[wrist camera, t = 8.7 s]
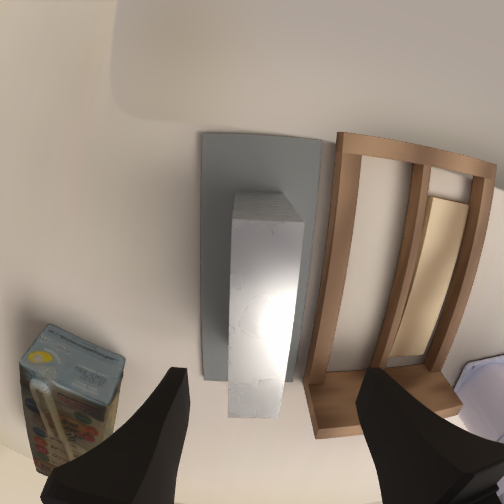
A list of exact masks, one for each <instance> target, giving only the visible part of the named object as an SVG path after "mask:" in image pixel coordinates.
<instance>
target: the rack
mask: <svg viewBox="0 0 504 504" xmlns="http://www.w3.org/2000/svg"><path fill="white" fill-rule="evenodd" d="M362 155H366V156H373V157H380V158H386V159H393V160H399V161H405V162H411V163H413V171H412V180H411V188H410V195H409V202H408V209H407V215H406V221H405V227H404V233H403V239H402V244H401V249H400V254H399V259H398V264H397V269H396V273H395V278H394V282H393V286H392V291H391V295H390V299H389V303H388V307H387V310H386V314H385V318H384V322H383V325H382V329H381V332H380V336H379V339H378V343H377V346H376V349H375V353H374V356H373V359H372V362H371V365H370V368H376V367H380V368H382V369H383V370H384V371H385V372H386V373H387V374H389V375H390V376H391V377H392V378H393V379H394V380H395V381H396V382H397V383H399V384H400V385H401V386H402V387H403V388H404V389H405V390H406V391H408V392H409V393H410V394H411V395H412V396H413V397H415V398H416V399H417V400H418V401H420V402H421V403H422V404H423V405H425V406H426V407H427V408H429V409H430V410H431V411H433V412H434V413H436V414H437V415H439V416H440V417H442V418H447V417H451V416H455V415H458V413H459V412H460V410H461V408H462V406H463V403H462V402H461V400H460V399H459V397H458V396H457V394H456V393H455V391H454V390H453V388H452V387H451V386H450V384H449V383H448V381H447V380H446V378H445V377H444V376H443V374H442V373H441V369H442V367H443V364H444V362H445V360H446V357H447V355H448V353H449V350H450V348H451V345H452V343H453V340H454V338H455V335H456V333H457V330H458V327H459V325H460V322H461V319H462V316H463V313H464V310H465V307H466V304H467V301H468V298H469V295H470V292H471V289H472V285H473V282H474V279H475V275H476V272H477V268H478V264H479V260H480V256H481V252H482V248H483V244H484V240H485V235H486V230H487V226H488V221H489V215H490V210H491V204H492V198H493V191H494V183H495V177H496V168H497V165H496V164H493V163H489V162H485V161H482V160H479V159H475V158H472V157H468V156H464V155H460V154H456V153H452V152H448V151H444V150H439V149H435V148H431V147H426V146H422V145H416V144H412V143H407V142H402V141H396V140H391V139H386V138H380V137H374V136H367V135H361V134H354V133H347V132H337V140H336V153H335V165H334V177H333V187H332V197H331V206H330V215H329V224H328V232H327V240H326V248H325V256H324V263H323V270H322V277H321V284H320V291H319V297H318V303H317V310H316V316H315V322H314V328H313V333H312V339H311V345H310V350H309V355H308V361H307V366H306V371H305V376H304V381H303V386H304V390H305V395H306V399H307V404H308V408H309V413H310V417H311V422H312V426H313V431H314V435H315V439H325V438H336V437H345V436H353V435H361V434H363V431H362V428H361V425H360V422H359V418H358V414H357V409H356V404H355V401H356V399H357V396H358V393H359V390H360V387H361V384H362V381H363V379H364V376H365V372H366V370H358V371H342V372H326V370H327V366H328V361H329V357H330V353H331V348H332V344H333V339H334V335H335V330H336V325H337V320H338V315H339V310H340V305H341V300H342V295H343V289H344V284H345V278H346V272H347V267H348V260H349V254H350V248H351V241H352V234H353V227H354V220H355V212H356V204H357V196H358V187H359V178H360V168H361V157H362ZM431 166H432V167H437V168H442V169H447V170H452V171H457V172H461V173H466V174H470V175H473V182H472V189H471V196H470V202H469V209H468V214H467V219H466V224H465V229H464V234H463V239H462V243H461V248H460V252H459V256H458V260H457V264H456V268H455V272H454V276H453V280H452V283H451V287H450V290H449V294H448V297H447V300H446V303H445V307H444V310H443V313H442V316H441V319H440V322H439V325H438V328H437V330H436V333H435V336H434V339H433V341H432V344H431V347H430V349H429V352H428V354H427V357H426V359H425V362H424V364H418V365H410V366H401V367H392V368H385V366H386V363H387V361H388V358H389V355H390V352H391V349H392V346H393V343H394V339H395V336H396V333H397V330H398V326H399V323H400V320H401V316H402V313H403V309H404V306H405V302H406V298H407V294H408V291H409V287H410V283H411V279H412V274H413V270H414V266H415V261H416V257H417V252H418V247H419V242H420V237H421V232H422V227H423V221H424V215H425V209H426V203H427V196H428V189H429V181H430V173H431Z"/></svg>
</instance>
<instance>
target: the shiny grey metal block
mask: <svg viewBox="0 0 504 504" xmlns="http://www.w3.org/2000/svg"><path fill="white" fill-rule="evenodd" d="M304 224H305V222H304V221H303V220H302V218H301V217H300V215H299V214H298V213H297V211H296V210H295V209H294V207H293V206H292V204H291V203H290V202H289V200H288V199H287V198H286V196H285V195H284V193H280V192H262V191H240V190H236V192H235V200H234V208H233V216H232V235H231V267H230V305H229V357H228V418H279V412H280V407H281V400H282V394H283V388H284V382H285V375H286V369H287V362H288V355H289V348H290V341H291V334H292V327H293V319H294V312H295V304H296V296H297V288H298V280H299V271H300V262H301V253H302V244H303V234H304Z"/></svg>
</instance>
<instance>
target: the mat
mask: <svg viewBox="0 0 504 504" xmlns="http://www.w3.org/2000/svg"><path fill="white" fill-rule="evenodd" d="M321 150H322V140H317V139H307V138H296V137H283V136H269V135H251V134H226V133H203V136H202V164H201V215H200V271H201V322H202V351H203V373H204V380H210V381H228V357H229V305H230V267H231V235H232V216H233V208H234V200H235V192H236V190H240V191H262V192H280V193H284V195H285V196H286V198H287V199H288V200H289V202H290V203H291V204H292V206H293V207H294V209H295V210H296V211H297V213H298V214H299V215H300V217H301V218H302V220H303V221H304V222H305V224H304V234H303V244H302V253H301V262H300V271H299V280H298V288H297V296H296V304H295V312H294V319H293V327H292V334H291V341H290V348H289V355H288V362H287V369H286V375H285V382H293V376H294V371H295V365H296V359H297V353H298V346H299V340H300V334H301V327H302V320H303V314H304V307H305V300H306V292H307V285H308V277H309V269H310V261H311V253H312V245H313V236H314V227H315V217H316V208H317V197H318V186H319V175H320V163H321Z"/></svg>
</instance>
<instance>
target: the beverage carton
mask: <svg viewBox="0 0 504 504" xmlns="http://www.w3.org/2000/svg"><path fill="white" fill-rule="evenodd" d="M124 365H125V358H124V357H123V356H121V355H118V354H115V353H112V352H110V351H108V350H105V349H103V348H100V347H98V346H96V345H93V344H91V343H89V342H87V341H85V340H83V339H80V338H78V337H76V336H74V335H72V334H70V333H68V332H65V331H64V330H62V329H60V328H58V327H55V326H53V325H51V324H49V325H47V326H46V328H45V329H44V331H43V332H42V333H40V334H39V336H38V338H37V339H36V340H35V341H34V343H33V344H32V346H31V347H30V348H29V349H28V350H27V352H26V353H25V355H24V356H23V357H22V358H21V359H20V361H19V367H20V384H21V392H22V401H23V409H24V415H25V421H26V428H27V434H28V438H29V443H30V448H31V451H32V455H33V460H34V463H35V466H36V470H37V472H39V473H41V474H43V475H46V476H48V477H49V475H50V474H51V472H52V470H53V469H54V468H56V467H59V466H61V465H63V464H65V463H67V462H69V461H71V460H74V459H75V458H77V457H79V456H81V455H83V454H84V453H86V452H87V451H89V450H91V449H92V448H94V447H96V446H97V445H99V444H100V443H101V442H103V441H104V440H105V439H107V438H108V437H109V436H111V435H112V434H113V428H114V423H115V417H116V412H117V405H118V399H119V393H120V386H121V381H122V378H123V369H124Z"/></svg>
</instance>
